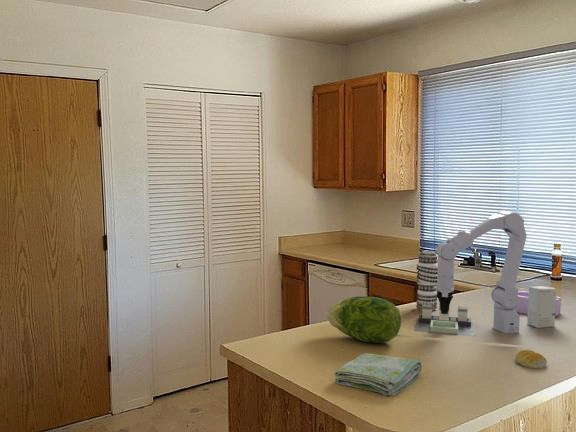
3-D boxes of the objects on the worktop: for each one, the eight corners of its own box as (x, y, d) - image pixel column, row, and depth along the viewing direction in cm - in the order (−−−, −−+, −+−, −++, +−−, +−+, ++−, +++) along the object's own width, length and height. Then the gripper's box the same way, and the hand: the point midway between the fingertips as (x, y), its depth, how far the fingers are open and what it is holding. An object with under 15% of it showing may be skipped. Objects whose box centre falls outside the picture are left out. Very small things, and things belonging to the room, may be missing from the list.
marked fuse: (449, 320, 200) (449, 303, 199) (439, 319, 201) (439, 303, 200) (449, 318, 203) (449, 301, 203) (439, 317, 204) (439, 300, 204)
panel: (474, 338, 194) (475, 330, 194) (413, 333, 200) (414, 326, 200) (472, 324, 212) (472, 317, 212) (416, 319, 218) (417, 313, 218)
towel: (331, 384, 152) (331, 366, 151) (366, 363, 169) (366, 347, 169) (392, 400, 142) (393, 381, 141) (422, 375, 159) (423, 358, 159)
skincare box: (537, 328, 207) (539, 289, 206) (526, 324, 213) (527, 286, 212) (555, 326, 209) (557, 288, 208) (543, 322, 215) (545, 285, 214)
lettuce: (336, 329, 204) (336, 288, 203) (406, 340, 191) (407, 296, 190) (318, 339, 192) (318, 295, 190) (392, 352, 178) (393, 305, 177)
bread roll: (531, 358, 174) (532, 345, 174) (551, 368, 165) (551, 355, 165) (508, 360, 172) (509, 347, 172) (527, 370, 164) (527, 356, 163)
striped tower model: (410, 310, 233) (412, 251, 231) (423, 306, 240) (425, 249, 238) (429, 314, 227) (430, 254, 225) (442, 310, 233) (443, 252, 231)
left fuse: (431, 323, 211) (431, 307, 210) (422, 322, 212) (422, 306, 211) (431, 320, 214) (431, 305, 213) (422, 320, 215) (422, 304, 214)
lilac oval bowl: (562, 312, 232) (562, 295, 232) (556, 318, 222) (557, 301, 222) (512, 305, 244) (513, 289, 244) (504, 310, 234) (505, 294, 234)
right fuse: (467, 325, 207) (467, 309, 206) (457, 325, 208) (458, 308, 207) (466, 323, 210) (467, 307, 210) (457, 322, 211) (457, 306, 211)
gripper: (434, 271, 209) (433, 306, 210) (433, 278, 195) (432, 316, 196) (454, 272, 207) (453, 308, 208) (454, 279, 193) (453, 318, 194)
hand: (444, 312), depth 202 cm, fingers closed on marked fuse, 3 cm apart
